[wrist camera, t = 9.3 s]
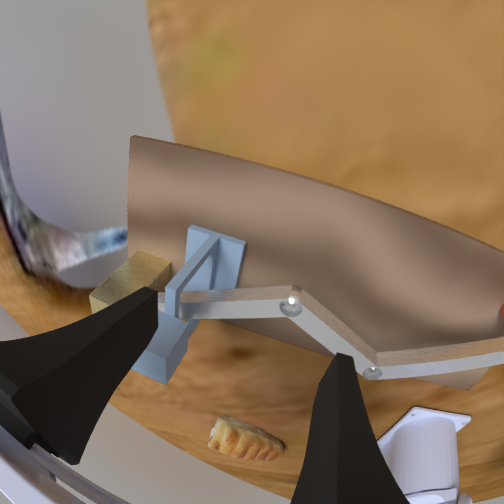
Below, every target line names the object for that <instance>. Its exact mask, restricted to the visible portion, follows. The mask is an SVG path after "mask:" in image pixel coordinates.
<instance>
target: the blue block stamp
mask: <svg viewBox="0 0 504 504" xmlns="http://www.w3.org/2000/svg"><path fill="white" fill-rule="evenodd" d="M245 246H246V241H243V240H239V239H236V238H233V237H230V236H227V235H224V234H220V233H217V232H214V231H211V230H208V229H205V228H202V227H198V226H195V225H191V226H190V227H189V228H188V234H187V244H186V255H185V265H184V266H183V267H182V268H181V269H180V270H179V271H178V273H177V274H176V275H175V276H174V277H173V278H172V280H171V281H170V282H169V283H168V284H167V285H166V287H165V313H163V312H161V311H158V329H157V331H156V332H155V334H154V336H153V338H152V340H151V341H150V343H149V345H148V346H147V348H146V349H145V351H144V352H143V353H142V355H141V356H140V357H139V359H138V360H137V361H136V363H135V364H134V365H133V366H132V368H131V369H133V370H135V371H137V372H139V373H141V374H143V375H145V376H147V377H150V378H152V379H154V380H156V381H158V382H160V383H163V384H165V385H167V383H168V381H169V380H170V378H171V376H172V375H173V373H174V371H175V370H176V368H177V366H178V365H179V363H180V362H181V360H182V358H183V357H184V355H185V353H186V352H187V346H188V339H189V337H190V336H191V334H192V333H193V331H194V329H195V328H196V326H197V325H198V323H199V321H200V320H201V319H188V320H187V322H186V321H183V320H181V319H179V306H180V293H181V291H182V290H183V291H203V290H222V289H237V285H238V280H239V275H240V270H241V265H242V261H243V256H244V251H245Z"/></svg>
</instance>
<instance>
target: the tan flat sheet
mask: <svg viewBox="0 0 504 504" xmlns="http://www.w3.org/2000/svg"><path fill="white" fill-rule="evenodd" d="M191 225H195V226H198V227H202V228H205V229H208V230H211V231H214V232H217V233H220V234H224V235H227V236H230V237H233V238H236V239H239V240H243V241H246V246H245V251H244V256H243V261H242V265H241V270H240V275H239V280H238V285H237V289H240V288H257V287H272V286H287V285H297V286H300V287H301V288H303V289H304V290H305V291H306V292H307V293H309V294H310V295H311V296H312V297H313V298H315V299H316V300H317V301H318V302H319V303H320V304H322V305H323V306H324V307H325V308H326V309H327V310H329V311H330V312H331V313H332V314H333V315H334V316H336V317H337V318H338V319H339V320H340V321H341V322H343V323H344V324H345V325H346V326H347V327H348V328H350V329H351V330H352V331H353V332H354V333H355V334H357V335H358V336H359V337H360V338H361V339H362V340H364V341H365V342H366V343H367V344H368V345H369V346H371V347H372V348H373V349H374V350H375V351H376V352H389V351H401V350H411V349H421V348H430V347H439V346H447V345H454V344H462V343H468V342H475V341H481V340H487V339H493V338H499V337H504V318H503V316H502V314H501V312H500V310H499V309H500V308H501V306H502V305H503V303H504V251H502V250H500V249H497V248H495V247H493V246H491V245H489V244H486V243H484V242H482V241H480V240H477V239H475V238H473V237H471V236H468V235H466V234H464V233H461V232H459V231H457V230H454V229H452V228H449V227H447V226H445V225H442V224H440V223H437V222H435V221H432V220H430V219H427V218H425V217H422V216H419V215H417V214H414V213H412V212H409V211H406V210H404V209H401V208H398V207H396V206H393V205H390V204H387V203H384V202H382V201H379V200H376V199H373V198H370V197H367V196H365V195H362V194H359V193H356V192H353V191H350V190H347V189H344V188H341V187H337V186H334V185H331V184H328V183H325V182H322V181H318V180H315V179H312V178H309V177H305V176H302V175H299V174H295V173H292V172H288V171H285V170H281V169H278V168H274V167H271V166H267V165H263V164H260V163H256V162H252V161H248V160H244V159H241V158H237V157H233V156H229V155H225V154H220V153H216V152H212V151H208V150H203V149H199V148H195V147H190V146H186V145H181V144H176V143H172V142H166V141H162V140H157V139H152V138H146V137H141V136H136V135H134V136H131V137H130V152H129V173H128V258H130V257H131V256H132V255H134V254H135V253H136V252H137V251H138V250H141V251H143V252H146V253H149V254H152V255H154V256H157V257H160V258H162V259H165V260H168V261H171V277H170V281H171V280H172V278H173V277H174V276H175V275H176V274H177V273H178V271H179V270H180V269H181V268H182V267H183V266H184V265H185V255H186V244H187V234H188V228H189V227H190V226H191ZM182 291H183V290H182ZM219 320H222V321H225V322H227V323H230V324H233V325H236V326H239V327H241V328H244V329H247V330H250V331H253V332H256V333H259V334H262V335H265V336H268V337H271V338H274V339H277V340H280V341H283V342H286V343H289V344H292V345H295V346H298V347H302V348H305V349H308V350H311V351H314V352H318V353H321V354H324V355H328V356H331V357H335V354H333V353H332V352H331V351H329V350H328V349H327V348H326V347H324V346H323V345H322V344H321V343H319V342H318V341H317V340H316V339H314V338H313V337H312V336H311V335H309V334H308V333H307V332H306V331H304V330H303V329H302V328H301V327H299V326H298V325H297V324H296V323H294V322H293V321H292V320H291V319H289V318H288V317H276V318H235V319H219ZM490 367H491V366H488V367H482V368H477V369H471V370H464V371H457V372H450V373H443V374H435V375H426V376H417V377H409V378H413V379H417V380H422V381H426V382H430V383H435V384H439V385H444V386H448V387H453V388H458V389H463V390H468V391H469V390H470V389H471V388H472V387H473V386H474V385H475V384H476V383H477V382H478V381H479V379H480V378H481V377H482V376H483V375H484V374H485V373H486V372H487V371H488V369H489V368H490Z"/></svg>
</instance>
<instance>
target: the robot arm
mask: <svg viewBox="0 0 504 504" xmlns="http://www.w3.org/2000/svg"><path fill="white" fill-rule="evenodd" d="M157 329H158V291H156V290H153V289H151V288H148V287H146V286H144V287H143V288H141V289H139V290H137V291H135V292H133V293H131V294H130V295H128V296H126V297H124V298H122V299H121V300H119V301H117V302H115V303H113V304H111V305H109V306H108V307H106V308H104V309H102V310H100V311H98V312H96V313H94V314H92V315H90V316H88V317H86V318H84V319H81V320H79V321H77V322H74V323H72V324H70V325H67V326H64V327H61V328H59V329H56V330H53V331H49V332H46V333H42V334H39V335H35V336H31V337H27V338H22V339H16V340H10V341H0V491H1V492H2V493H3V494H4V495H5V496H6V497H7V498H8V499H9V500H10V501H11V502H12V503H13V504H85V503H84V502H82V501H81V500H79V499H78V498H77V497H75V496H74V495H73V494H72V493H70V492H68V491H67V490H66V489H64V488H63V487H62V486H60V485H59V484H57V483H56V478H55V477H57V478H58V479H60V480H61V481H63V482H64V483H65V484H67V485H68V486H70V487H71V488H73V489H74V490H76V491H77V492H79V493H81V494H82V495H84V496H85V497H87V498H88V499H90V500H92V501H93V502H95V503H97V504H130V503H128V502H127V501H125V500H123V499H121V498H119V497H117V496H115V495H113V494H112V493H110V492H108V491H106V490H104V489H103V488H101V487H99V486H98V485H96V484H94V483H92V482H91V481H89V480H88V479H86V478H84V477H83V476H81V475H80V474H78V473H77V472H75V471H74V470H72V469H71V468H69V467H68V466H66V465H65V464H63V463H62V462H60V461H59V460H58V459H56V458H55V457H53V456H52V455H51V453H52V454H53V455H55V456H56V457H58V458H59V457H60V458H61V459H63V460H64V461H66V462H67V463H69V464H70V465H76V464H79V462H80V459H81V457H82V455H83V452H84V450H85V447H86V445H87V442H88V440H89V438H90V436H91V434H92V432H93V430H94V427H95V425H96V423H97V421H98V419H99V418H100V416H101V414H102V412H103V410H104V408H105V406H106V405H107V403H108V401H109V399H110V398H111V396H112V394H113V392H114V391H115V389H116V388H117V387H118V385H119V384H120V382H121V381H122V380H123V378H124V377H125V376H126V374H127V373H128V372H129V370H130V369H131V368H132V366H133V365H134V364H135V363H136V361H137V360H138V359H139V357H140V356H141V355H142V353H143V352H144V351H145V349H146V348H147V346H148V345H149V343H150V341H151V340H152V338H153V336H154V334H155V332H156V331H157ZM470 420H471V417H470V416H468V415H461V414H455V413H449V412H443V411H437V410H432V409H426V408H421V407H413V408H412V409H411V410H410V411H409V412H408V413H407V414H406V415H405V416H404V417H403V418H402V419H401V420H400V421H398V422H397V423H396V424H395V425H394V426H393V427H392V428H391V429H390V430H389V431H388V432H387V433H386V434H385V435H383V436H382V437H381V438H380V439H379V440H378V441H376V438H375V436H374V433H373V430H372V427H371V424H370V421H369V418H368V415H367V412H366V408H365V405H364V401H363V398H362V394H361V390H360V386H359V382H358V378H357V373H356V368H355V363H354V359H353V357H352V356H349V355H346V354H342V353H339V352H337V353H336V355H335V357H334V359H333V360H332V362H331V364H330V366H329V368H328V369H327V371H326V373H325V374H324V376H323V378H322V380H321V381H320V383H319V387H318V390H317V394H316V398H315V402H314V405H313V411H312V418H311V424H310V430H309V437H308V443H307V449H306V454H305V459H304V463H303V467H302V470H301V473H300V477H299V480H298V483H297V486H296V489H295V492H294V495H293V497H292V500H291V503H290V504H473V503H472V498H471V497H470V496H468V495H467V494H466V493H463V494H460V493H459V469H458V451H457V439H456V432H458V431H459V430H460V429H461V428H462V427H464V426H465V425H466V424H467V423H468V422H469V421H470Z"/></svg>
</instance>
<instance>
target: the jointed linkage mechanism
mask: <svg viewBox="0 0 504 504" xmlns="http://www.w3.org/2000/svg"><path fill="white" fill-rule="evenodd" d="M170 277H171V261H168V260H165V259H162V258H160V257H157V256H154V255H152V254H149V253H146V252H143V251H141V250H138V251H137V252H136V253H135V254H134V255H132V256H131V257H130V258H129V259H128V260H127V261H126V262H125V263H124V264H122V265H121V266H120V267H119V268H118V269H117V270H116V271H115V272H114V273H113V274H112V275H110V276H109V277H108V278H107V279H106V280H105V281H104V282H103V283H102V284H101V285H100V286H99V287H97V288H96V289H95V290H94V291H93V292H92V293H91V294H90V295H89V297H90V303H91V308H92V314H94V313H96V312H98V311H100V310H102V309H104V308H106V307H108V306H109V305H111V304H113V303H115V302H117V301H119V300H121V299H122V298H124V297H126V296H128V295H130V294H131V293H133V292H135V291H137V290H139V289H141V288H143V287H144V286H146V287H148V288H151V289H153V290H156V291H158V311H161V312H163V313H165V287H166V285H167V284H168V283H169V282H170ZM499 310H500V312H501V314H502V316H503V318H504V303H503V305H502V306H501V308H500V309H499ZM276 317H288V318H289V319H291V320H292V321H293V322H294V323H296V324H297V325H298V326H299V327H301V328H302V329H303V330H304V331H306V332H307V333H308V334H309V335H311V336H312V337H313V338H314V339H316V340H317V341H318V342H319V343H321V344H322V345H323V346H324V347H326V348H327V349H328V350H329V351H331V352H332V353H333V354H335V355H336V353H337V352H339V353H342V354H346V355H349V356H352V357H353V359H354V363H355V368H356V372H358V373H359V374H360V375H362V376H363V377H364V378H366V379H368V380H380V379H394V378H406V377H417V376H426V375H435V374H443V373H450V372H457V371H464V370H471V369H477V368H482V367H488V366H494V365H499V364H504V337H499V338H493V339H487V340H481V341H475V342H468V343H462V344H454V345H447V346H439V347H430V348H421V349H411V350H401V351H389V352H376V351H375V350H374V349H373V348H372V347H371V346H369V345H368V344H367V343H366V342H365V341H364V340H362V339H361V338H360V337H359V336H358V335H357V334H355V333H354V332H353V331H352V330H351V329H350V328H348V327H347V326H346V325H345V324H344V323H343V322H341V321H340V320H339V319H338V318H337V317H336V316H334V315H333V314H332V313H331V312H330V311H329V310H327V309H326V308H325V307H324V306H323V305H322V304H320V303H319V302H318V301H317V300H316V299H315V298H313V297H312V296H311V295H310V294H309V293H307V292H306V291H305V290H304V289H303V288H301V287H300V286H297V285H287V286H272V287H257V288H240V289H222V290H203V291H181V293H180V306H179V319H235V318H276Z"/></svg>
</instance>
